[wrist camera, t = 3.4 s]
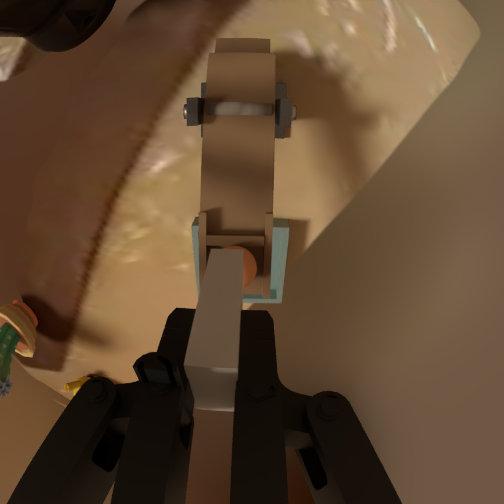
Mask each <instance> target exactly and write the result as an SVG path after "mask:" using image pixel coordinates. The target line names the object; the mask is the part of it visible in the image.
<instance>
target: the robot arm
mask: <svg viewBox="0 0 504 504" xmlns="http://www.w3.org/2000/svg"><path fill="white" fill-rule="evenodd" d="M115 2H116V0H0V36H2V37H23V38H25V39H26V40H28V41H29V42H31V43H32V44H34V45H35V46H36V47H37V48H39V49H41V50H43V51H49V52H63V51H67V50H70V49H72V48H74V47H76V46H78V45H79V44H81V43H83V42H84V41H85V40H87V39H88V38H89V37H90V36H91V35H92V34H93V33H94V32H95V31H96V30H97V29H98V28H99V27H100V26H101V25H102V24H103V22H104V21H105V20H106V18H107V17H108V15H109V14H110V12H111V10H112V8H113V6H114V4H115ZM243 254H244V250H240V249H211V251H210V255H209V259H208V263H207V267H206V271H205V275H204V279H203V283H202V287H201V291H200V295H199V299H198V303H197V307H196V309H188V308H176V309H175V310H174V311H173V312H172V313H171V314H170V315H169V316H168V318H167V321H166V324H165V329H164V331H163V334H162V337H161V340H160V343H159V346H158V350H157V352H150V353H147V354H145V355H142V356H141V357H140V358H139V359H137V360H136V362H135V363H134V365H133V368H134V370H135V373H136V375H137V377H138V379H139V381H136V382H132V383H125V384H116V385H114V384H113V382H112V381H110V380H109V379H108V378H105V377H101V376H100V377H93V378H91V379H88V380H87V381H86V382H85V383H84V384H83V385H82V386H81V387H80V389H79V390H78V391H77V393H76V394H75V396H74V397H73V398H72V400H71V401H70V403H69V404H68V406H67V407H66V409H65V410H64V412H63V413H62V414H61V416H60V417H59V419H58V420H57V422H56V423H55V425H54V426H53V428H52V429H51V431H50V432H49V434H48V435H47V437H46V439H45V440H44V442H43V443H42V445H41V447H40V448H39V449H38V451H37V453H36V454H35V456H34V457H33V459H32V461H31V462H30V464H29V466H28V467H27V469H26V471H25V473H24V474H23V476H22V478H21V479H20V481H19V483H18V485H17V486H16V488H15V490H14V492H13V493H12V495H11V497H10V499H9V501H8V503H7V504H103V502H104V500H105V499H106V496H107V495H108V493H109V491H110V489H111V487H112V485H113V483H114V481H115V484H114V489H113V494H112V499H111V504H185V500H186V491H187V481H188V470H189V463H190V454H191V445H192V437H193V429H194V417H193V408H194V404H195V407H196V409H206V410H219V411H234V422H233V423H234V424H233V443H232V466H231V490H230V491H231V492H230V504H288V488H287V471H286V454H285V446H286V447H291V448H294V449H295V452H296V454H297V457H298V459H299V462H300V465H301V467H302V470H303V473H304V475H305V478H306V480H307V483H308V485H309V488H310V491H311V493H312V496H313V498H314V501H315V503H316V504H402V503H401V501H400V499H399V497H398V495H397V493H396V491H395V489H394V487H393V485H392V483H391V481H390V479H389V477H388V475H387V473H386V471H385V469H384V467H383V465H382V463H381V461H380V460H379V458H378V456H377V454H376V452H375V450H374V448H373V446H372V444H371V442H370V440H369V439H368V437H367V435H366V433H365V431H364V430H363V427H362V425H361V423H360V421H359V420H358V418H357V416H356V414H355V412H354V411H353V408H352V407H351V404H350V403H349V401H348V400H347V399H346V398H345V397H344V396H342V395H341V394H339V393H338V392H332V391H323V392H320V393H317V394H316V395H313V397H312V396H308V395H303V394H299V393H296V392H293V391H291V390H289V389H287V388H286V387H285V386H284V385H283V384H282V383H281V381H280V380H279V378H278V373H277V361H276V349H275V335H274V323H273V319H272V317H271V316H270V314H269V313H268V311H265V310H263V311H262V310H259V311H258V310H242V306H243Z"/></svg>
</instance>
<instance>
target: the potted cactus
mask: <svg viewBox="0 0 504 504" xmlns="http://www.w3.org/2000/svg"><path fill="white" fill-rule="evenodd" d="M37 325H38V321H37V318H36V316H35V314H34V313H33V311H32V310H31V309H30V308H29V307H28V306H27V305H26V304H25V303H23V302H21V301H19V300H15V301H14V302H13V304H7V305H3V306H1V307H0V396H1V397H3V396H6V395H7V394H8V393H9V392H10V389H11V386H12V382H11V384H10V379H9V375H10V367H11V361H12V358H13V355H14V352H15V351H16V352H18V353H19V354H21V355H23V356H25V357H32V356H33V353H34V350H35V345H34V343H35V338H36V327H37Z"/></svg>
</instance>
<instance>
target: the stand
mask: <svg viewBox="0 0 504 504" xmlns="http://www.w3.org/2000/svg"><path fill="white" fill-rule="evenodd" d="M205 93H206V82H205V83H201V98H198V97H197V98H187V104H185V105H184V109H183V115H184V119H187V126H197V125H200V124H201V137H203V123H204V107H205ZM295 119H296V105H292V99H287V98H286V84H283V83H275V138H282V139H284V127H291V120H295Z"/></svg>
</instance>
